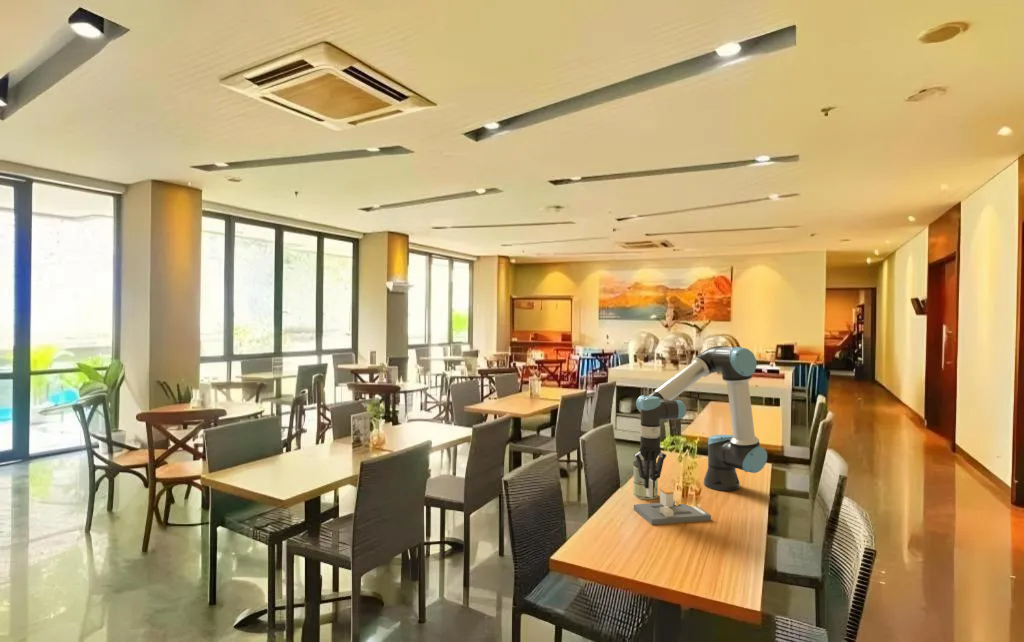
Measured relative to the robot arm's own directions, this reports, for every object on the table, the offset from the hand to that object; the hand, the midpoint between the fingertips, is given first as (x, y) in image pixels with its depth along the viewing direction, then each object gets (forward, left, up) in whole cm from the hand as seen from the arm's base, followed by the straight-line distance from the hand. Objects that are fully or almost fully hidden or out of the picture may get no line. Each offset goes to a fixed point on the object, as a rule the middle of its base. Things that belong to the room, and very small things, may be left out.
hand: (649, 496), depth 212 cm
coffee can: (-7, -19, -7) cm, 21 cm away
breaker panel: (-7, +4, -6) cm, 10 cm away
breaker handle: (-7, 0, -4) cm, 8 cm away
